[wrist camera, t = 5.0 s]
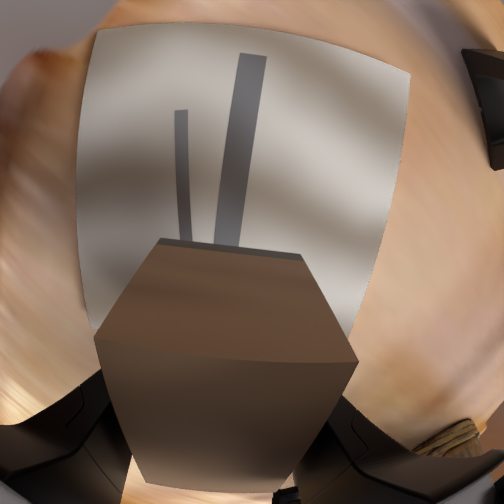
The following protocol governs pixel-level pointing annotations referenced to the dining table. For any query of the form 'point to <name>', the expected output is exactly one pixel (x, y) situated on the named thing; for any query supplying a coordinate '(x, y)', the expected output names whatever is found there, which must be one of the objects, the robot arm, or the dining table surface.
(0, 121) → the dining table surface
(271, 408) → the block
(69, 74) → the dining table surface
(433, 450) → the tankard
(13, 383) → the dining table surface
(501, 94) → the phone stand
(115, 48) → the board
